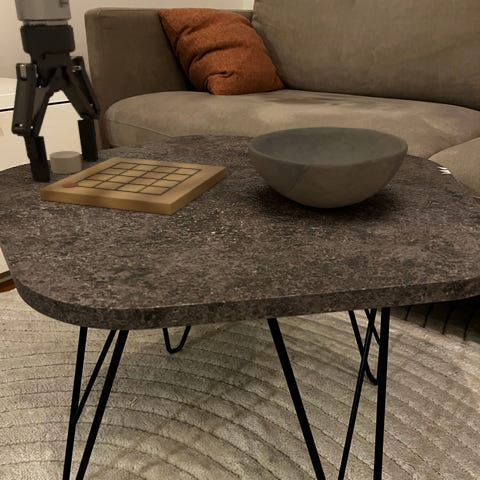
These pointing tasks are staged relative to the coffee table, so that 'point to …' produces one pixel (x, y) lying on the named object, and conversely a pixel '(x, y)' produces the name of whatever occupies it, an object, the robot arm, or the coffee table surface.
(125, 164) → the board
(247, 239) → the coffee table surface
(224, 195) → the coffee table surface
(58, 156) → the stone
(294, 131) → the bowl
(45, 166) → the robot arm
